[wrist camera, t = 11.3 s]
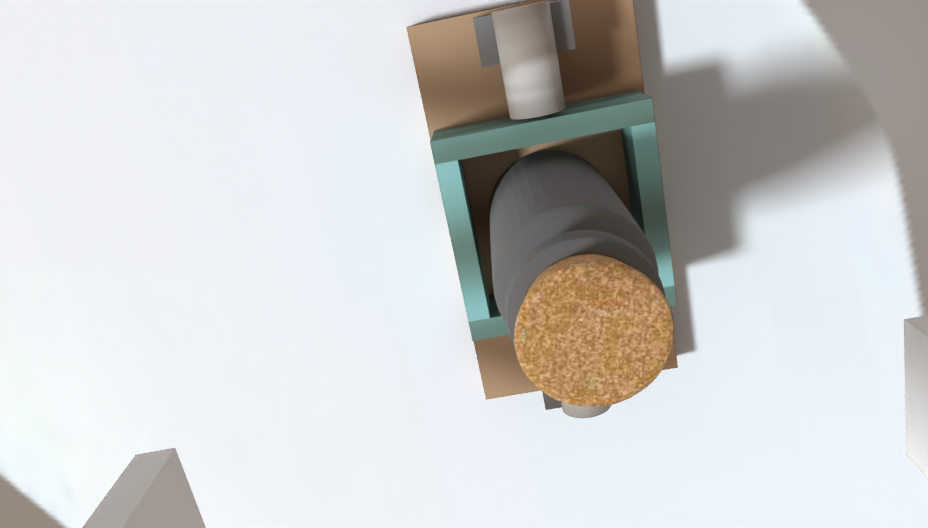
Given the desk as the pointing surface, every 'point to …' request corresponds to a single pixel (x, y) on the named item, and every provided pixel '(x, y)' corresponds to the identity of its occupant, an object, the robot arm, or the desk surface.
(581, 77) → the block
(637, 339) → the bottle
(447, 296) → the desk surface
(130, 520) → the robot arm
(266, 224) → the desk surface
